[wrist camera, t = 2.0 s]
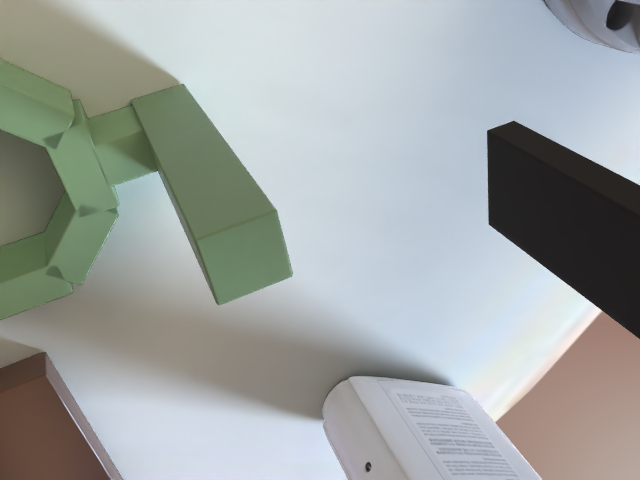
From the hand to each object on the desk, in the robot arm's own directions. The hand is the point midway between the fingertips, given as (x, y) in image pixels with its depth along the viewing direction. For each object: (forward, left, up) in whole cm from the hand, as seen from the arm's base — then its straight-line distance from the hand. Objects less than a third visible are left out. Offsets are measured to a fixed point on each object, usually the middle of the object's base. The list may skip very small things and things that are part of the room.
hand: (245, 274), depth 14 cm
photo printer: (-7, +21, -11) cm, 25 cm away
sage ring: (+5, 0, -11) cm, 12 cm away
